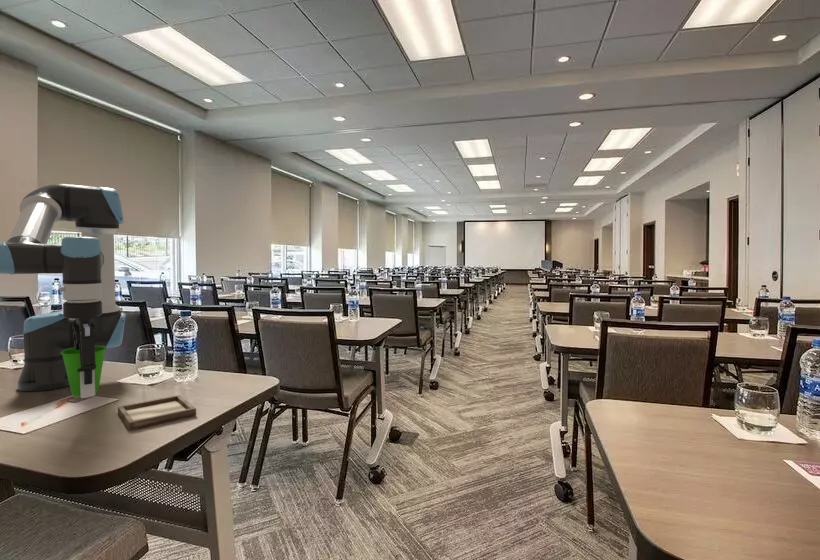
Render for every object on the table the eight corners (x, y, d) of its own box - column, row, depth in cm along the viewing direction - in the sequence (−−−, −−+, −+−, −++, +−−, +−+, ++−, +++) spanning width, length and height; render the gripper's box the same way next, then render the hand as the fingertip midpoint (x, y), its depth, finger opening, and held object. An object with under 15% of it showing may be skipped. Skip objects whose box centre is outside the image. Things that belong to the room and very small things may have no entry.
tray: (117, 413, 114) (117, 406, 114) (179, 401, 124) (179, 394, 124) (129, 430, 103) (129, 422, 103) (196, 415, 114) (196, 408, 113)
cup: (83, 401, 100) (81, 355, 99) (51, 397, 102) (50, 352, 101) (116, 389, 109) (115, 346, 108) (87, 386, 110) (86, 344, 110)
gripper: (58, 296, 109) (61, 383, 110) (67, 307, 93) (70, 407, 95) (95, 295, 114) (97, 378, 115) (109, 304, 98) (111, 400, 100)
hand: (85, 391), depth 105 cm, fingers closed on cup, 9 cm apart
